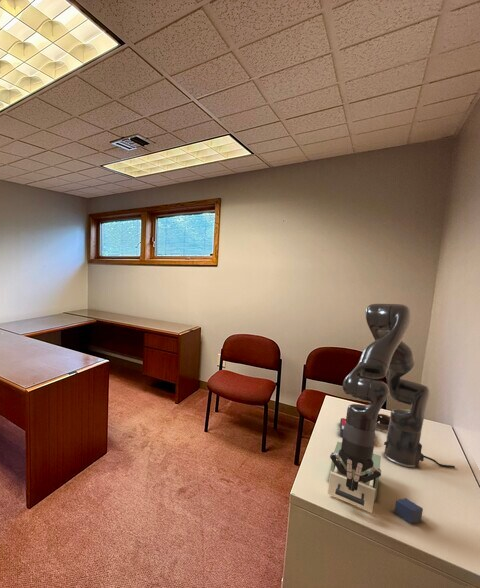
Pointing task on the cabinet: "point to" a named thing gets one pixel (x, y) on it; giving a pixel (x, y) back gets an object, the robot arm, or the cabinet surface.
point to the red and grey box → (342, 426)
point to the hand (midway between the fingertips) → (351, 489)
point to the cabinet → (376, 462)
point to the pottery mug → (382, 422)
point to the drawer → (358, 498)
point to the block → (408, 510)
